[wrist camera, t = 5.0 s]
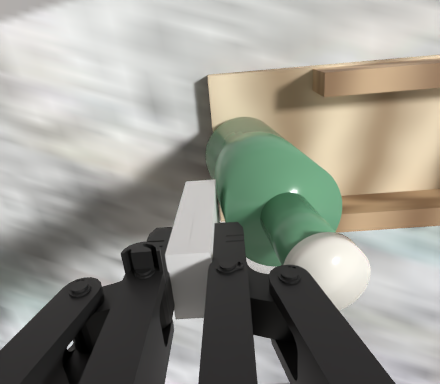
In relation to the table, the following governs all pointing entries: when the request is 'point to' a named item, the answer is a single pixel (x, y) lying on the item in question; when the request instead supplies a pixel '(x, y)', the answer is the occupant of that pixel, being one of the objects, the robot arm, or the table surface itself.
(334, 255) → the bottle
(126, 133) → the table surface
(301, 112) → the cradle
